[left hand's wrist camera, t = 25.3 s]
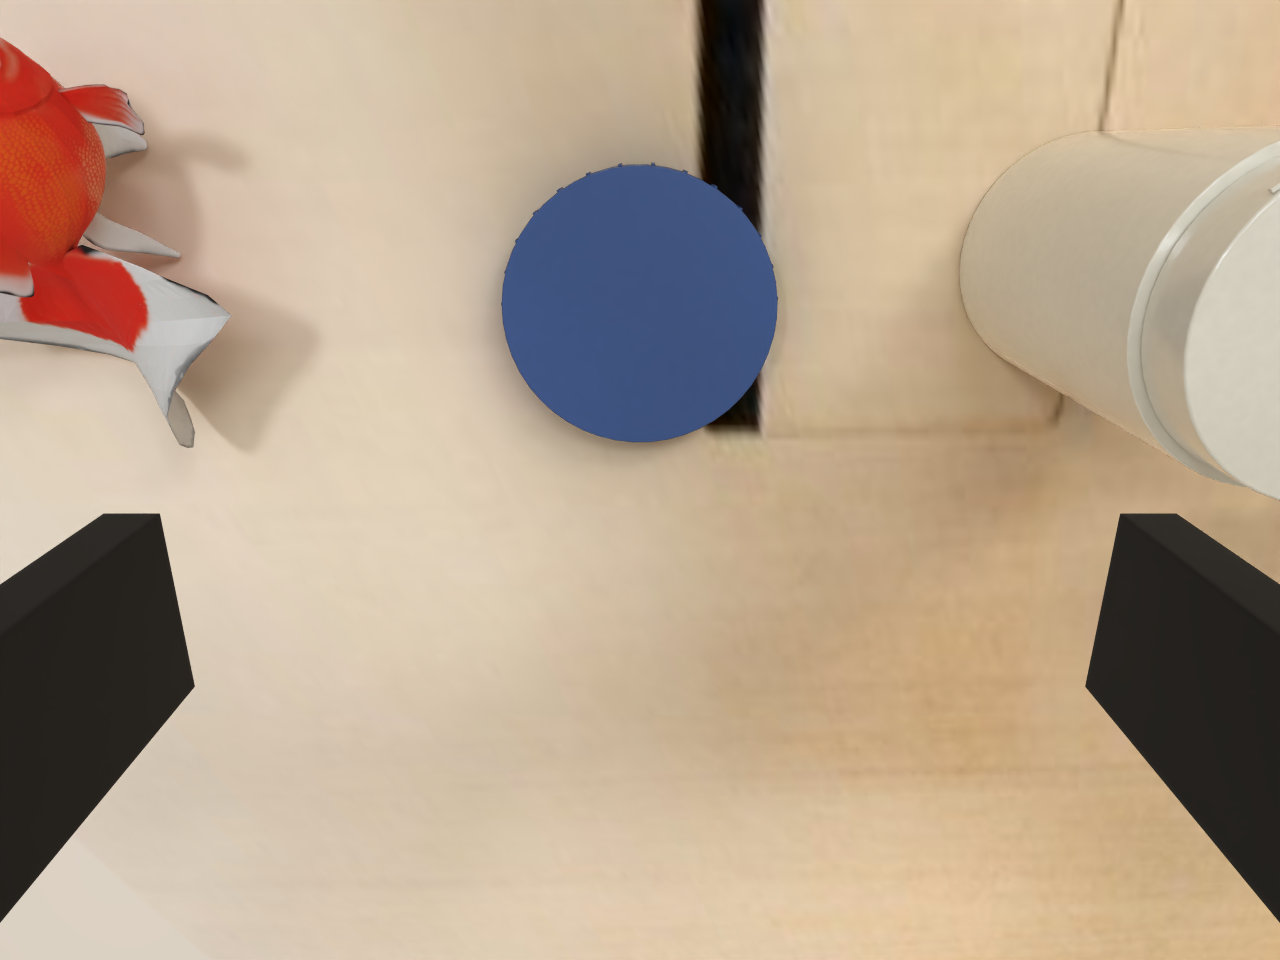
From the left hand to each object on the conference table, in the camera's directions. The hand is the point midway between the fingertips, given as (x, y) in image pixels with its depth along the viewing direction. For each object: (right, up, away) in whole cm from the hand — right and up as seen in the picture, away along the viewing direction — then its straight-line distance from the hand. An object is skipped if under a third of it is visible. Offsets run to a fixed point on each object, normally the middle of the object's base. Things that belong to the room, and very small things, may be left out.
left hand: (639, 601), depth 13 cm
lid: (0, +8, +23) cm, 24 cm away
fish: (-20, +11, +24) cm, 33 cm away
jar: (+18, +11, +24) cm, 32 cm away
